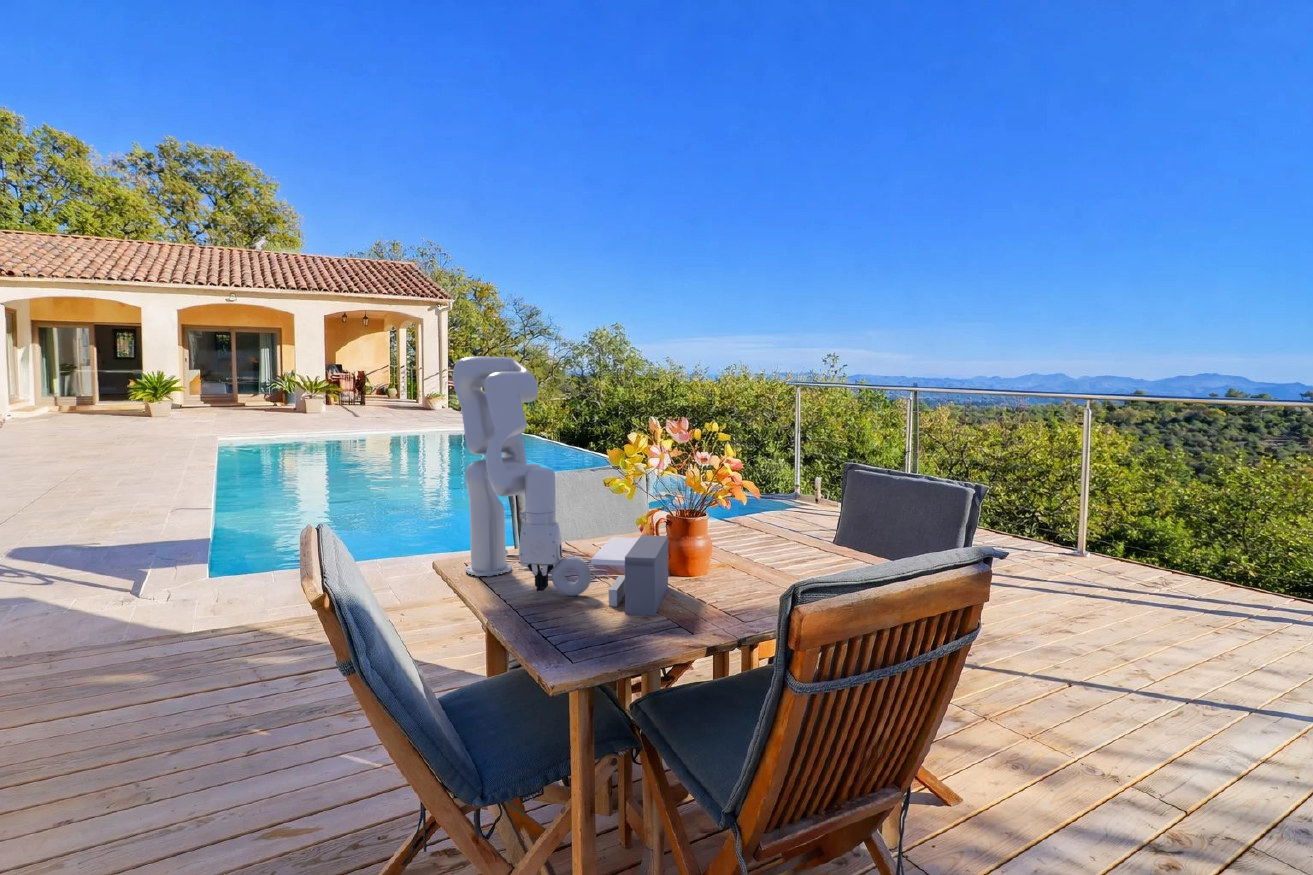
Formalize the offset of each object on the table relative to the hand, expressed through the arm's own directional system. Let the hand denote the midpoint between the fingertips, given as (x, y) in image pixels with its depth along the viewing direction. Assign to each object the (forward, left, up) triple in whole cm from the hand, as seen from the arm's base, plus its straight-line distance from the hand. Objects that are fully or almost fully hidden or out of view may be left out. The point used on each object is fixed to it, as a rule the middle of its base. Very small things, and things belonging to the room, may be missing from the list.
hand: (541, 589), depth 178 cm
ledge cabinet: (0, +23, -1) cm, 23 cm away
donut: (0, +8, -2) cm, 8 cm away
